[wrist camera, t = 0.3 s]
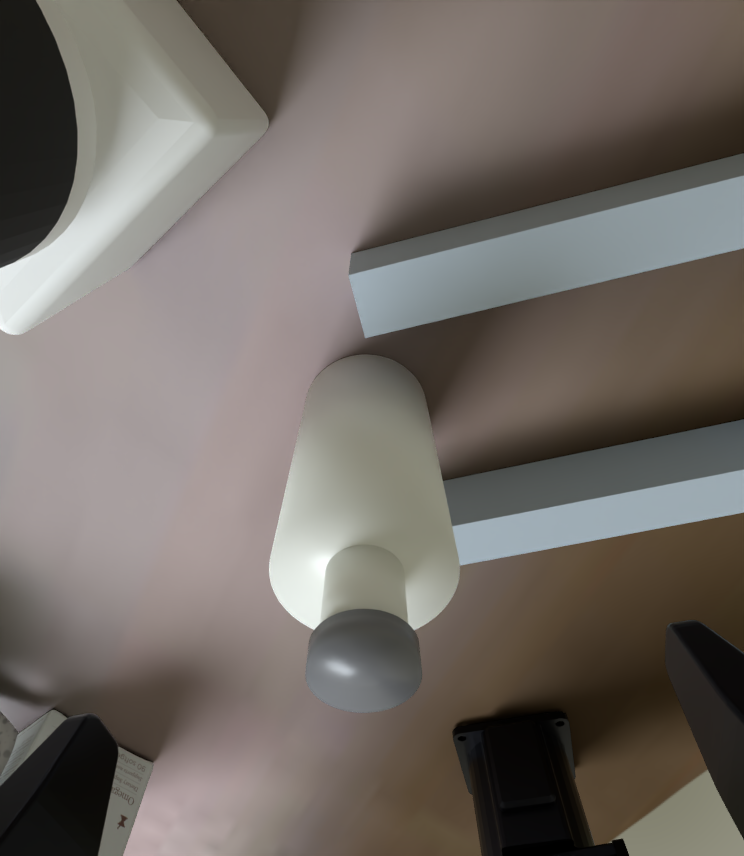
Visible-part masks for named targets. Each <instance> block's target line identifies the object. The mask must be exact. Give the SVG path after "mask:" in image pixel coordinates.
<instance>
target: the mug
mask: <svg viewBox="0 0 744 856" xmlns="http://www.w3.org/2000/svg"><path fill="white" fill-rule="evenodd" d="M17 735H18V731H17V730H16V729H15V728H14V726H13V725H12V724H11V723H10V722H9V720H8V719H7V718H6V717H5V716H4V715H3V714H2V713H1V712H0V776H1V774H2V772H3V770H4V768H5V766H6V764H7V763H8V761H9V758H10V756H11V753H12V751H13V748H14V746H15V742H16V738H17Z"/></svg>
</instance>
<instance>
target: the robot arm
mask: <svg viewBox="0 0 744 856" xmlns="http://www.w3.org/2000/svg"><path fill="white" fill-rule="evenodd" d="M665 664H666V669H667V672H668V676H669V678H670V681H671V683H672V685H673V688H674V690H675V692H676V695H677V697H678V700H679V702H680V704H681V707H682V709H683V711H684V714H685V716H686V718H687V721H688V723H689V726H690V728H691V730H692V733H693V735H694V737H695V740H696V742H697V744H698V747H699V749H700V752H701V754H702V756H703V759H704V761H705V763H706V766H707V768H708V770H709V773H710V775H711V777H712V779H713V782H714V784H715V786H716V788H717V790H718V792H719V794H720V796H721V798H722V800H723V802H724V804H725V806H726V808H727V809H728V811H729V813H730V815H731V817H732V819H733V821H734V822H735V824H736V826H737V828H738V830H739V832H740V834H741V835H742V837H743V839H744V653H743V652H742V651H740V650H739V649H738V648H736V647H735V646H734V645H732V644H731V643H729V642H728V641H727V640H725V639H724V638H722V637H721V636H720V635H718V634H717V633H716V632H714V631H713V630H711V629H710V628H709V627H707V626H706V625H704V624H703V623H701V622H699V621H696V620H688V621H681V622H675V623H670V624H669V625H668V626H667V628H666V645H665ZM452 733H453V740H454V744H455V747H456V751H457V754H458V757H459V761H460V764H461V768H462V771H463V774H464V778H465V781H466V785H467V788H468V791H469V793H470V794H472V795H473V801H474V808H475V814H476V821H477V827H478V834H479V840H480V847H481V853H482V856H629V854H628V851H627V848H626V846H625V843H624V841H623V839H617V840H612V843H608V844H602V845H596V846H595V844H594V841H593V838H592V835H591V832H590V828H589V825H588V822H587V819H586V816H585V812H584V809H583V806H582V803H581V800H580V796H579V793H578V790H577V787H576V784H575V780H574V779H575V777H576V776H575V768H574V760H573V751H572V743H571V734H570V726H569V721H568V718H567V715H566V713H564V712H552V713H545V714H539V715H532V716H526V717H519V718H513V719H506V720H500V721H493V722H487V723H480V724H474V725H467V726H461V727H457V728H455V729H454V730H453V732H452ZM117 761H118V744H117V741H116V740H115V738H114V737H113V735H112V734H111V733H110V731H109V730H108V729H107V727H106V726H105V725H104V723H103V722H102V721H101V719H100V718H99V717H98V716H97V715H96V714H93V713H87V714H81V715H75V716H71V717H69V718H67V719H66V720H64V721H63V722H62V723H61V724H60V725H59V726H58V727H57V728H56V729H55V730H54V731H53V732H52V733H51V734H50V735H49V736H48V737H47V739H46V740H45V741H44V742H43V743H42V744H41V745H40V746H39V747H38V748H37V749H36V750H35V751H34V752H33V753H32V754H31V755H30V756H29V757H28V758H27V759H26V760H25V761H24V762H23V763H22V764H21V765H20V766H19V767H18V768H17V769H16V770H15V771H14V772H13V773H12V774H11V775H10V776H9V777H8V778H7V779H6V780H5V781H4V782H3V783H2V784H1V785H0V856H98V853H99V849H100V844H101V840H102V835H103V830H104V825H105V820H106V815H107V810H108V805H109V800H110V795H111V790H112V785H113V781H114V776H115V771H116V766H117Z"/></svg>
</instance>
